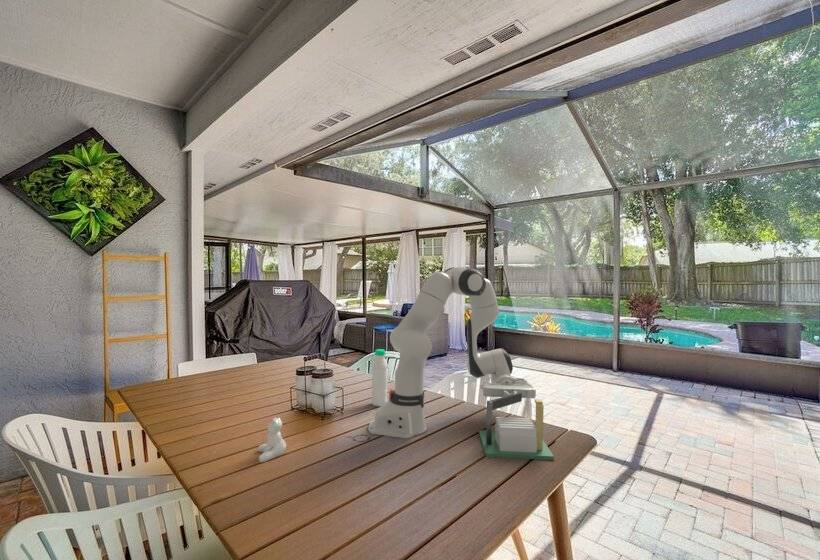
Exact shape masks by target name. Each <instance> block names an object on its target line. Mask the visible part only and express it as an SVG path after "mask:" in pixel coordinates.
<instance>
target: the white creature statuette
mask: <svg viewBox="0 0 820 560" xmlns="http://www.w3.org/2000/svg"><path fill="white" fill-rule="evenodd" d="M282 426H283V422H282V420H281V418H280V417H273V418H272V421H271V422H270V423H269V424H268V427H267V432H268V435H267V437H266V443H263V444H260V445H259V446H258V450H257V451H258V452H260V453H261V454H260V455H258V462H259V463H265V462H268V461H272V460H273V459H275V458H277V457H281V456H282V455H283V454H284V453H285V452H286V450H287V443H286V441H285V440H284V439H283V437H282V433H281V432H280V431H281V429H282Z"/></svg>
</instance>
